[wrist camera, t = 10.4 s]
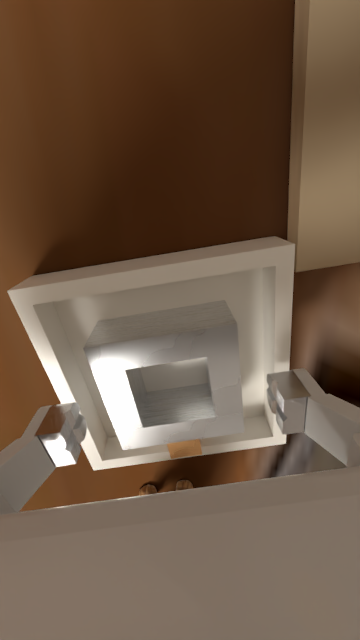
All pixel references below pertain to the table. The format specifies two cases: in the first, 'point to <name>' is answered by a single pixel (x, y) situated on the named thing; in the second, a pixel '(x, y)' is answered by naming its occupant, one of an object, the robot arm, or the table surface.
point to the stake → (325, 135)
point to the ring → (176, 403)
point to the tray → (154, 295)
